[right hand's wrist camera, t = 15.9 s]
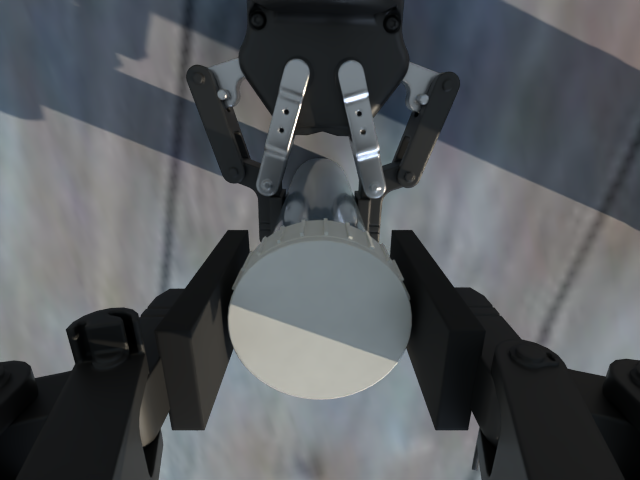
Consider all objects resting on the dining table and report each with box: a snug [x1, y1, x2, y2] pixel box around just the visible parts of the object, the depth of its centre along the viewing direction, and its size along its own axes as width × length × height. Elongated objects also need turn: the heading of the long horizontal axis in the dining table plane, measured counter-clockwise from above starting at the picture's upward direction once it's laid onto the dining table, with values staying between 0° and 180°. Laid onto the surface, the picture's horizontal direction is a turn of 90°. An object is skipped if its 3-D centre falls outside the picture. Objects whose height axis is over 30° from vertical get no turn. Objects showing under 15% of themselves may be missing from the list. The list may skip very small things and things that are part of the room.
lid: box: [227, 218, 412, 399], centre depth 11 cm, size 5×5×2 cm
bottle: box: [272, 158, 366, 234], centre depth 19 cm, size 4×4×18 cm
